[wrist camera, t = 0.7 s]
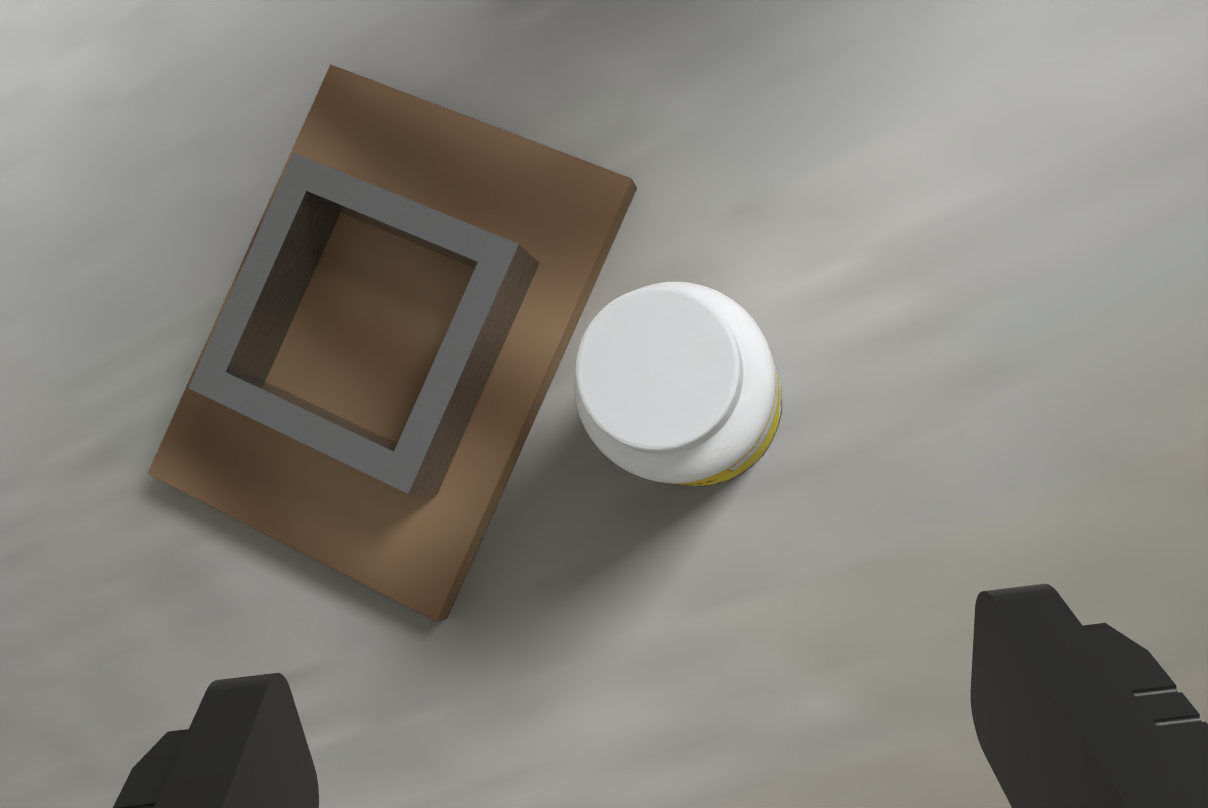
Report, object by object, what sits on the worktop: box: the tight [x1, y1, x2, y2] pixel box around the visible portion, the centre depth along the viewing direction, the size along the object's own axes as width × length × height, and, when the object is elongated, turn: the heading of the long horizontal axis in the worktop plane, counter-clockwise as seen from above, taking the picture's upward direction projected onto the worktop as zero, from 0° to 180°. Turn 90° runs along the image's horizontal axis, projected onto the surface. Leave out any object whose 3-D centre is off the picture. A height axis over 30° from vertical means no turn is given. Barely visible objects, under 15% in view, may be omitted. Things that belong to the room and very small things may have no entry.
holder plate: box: [148, 65, 637, 621], centre depth 36 cm, size 16×12×1 cm
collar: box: [189, 153, 540, 495], centre depth 34 cm, size 8×8×2 cm
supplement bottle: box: [574, 282, 782, 486], centre depth 29 cm, size 5×5×10 cm
